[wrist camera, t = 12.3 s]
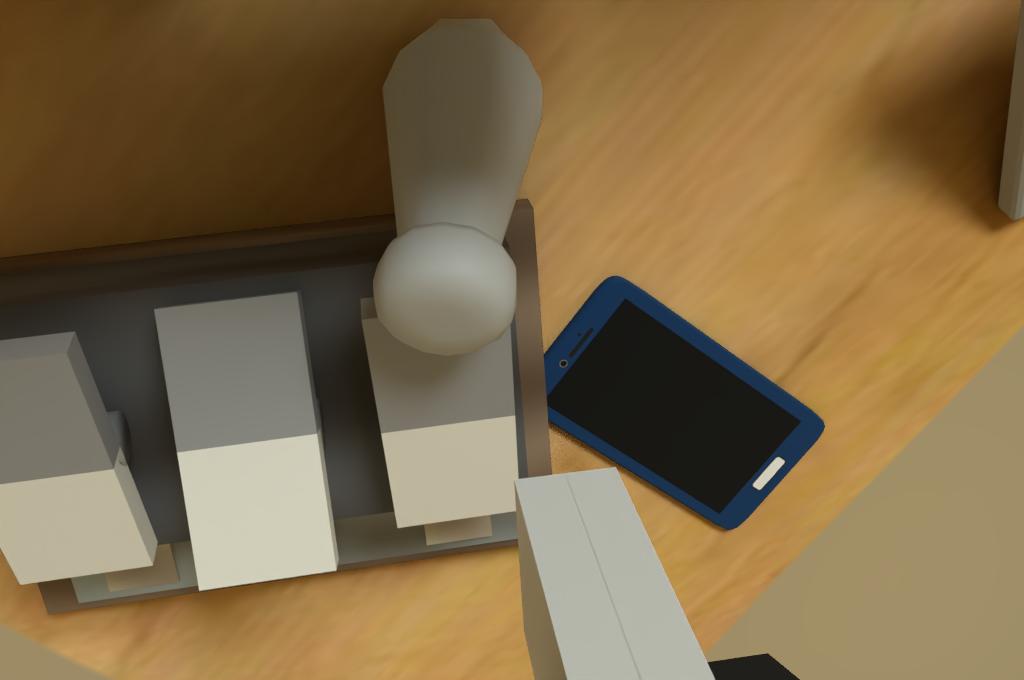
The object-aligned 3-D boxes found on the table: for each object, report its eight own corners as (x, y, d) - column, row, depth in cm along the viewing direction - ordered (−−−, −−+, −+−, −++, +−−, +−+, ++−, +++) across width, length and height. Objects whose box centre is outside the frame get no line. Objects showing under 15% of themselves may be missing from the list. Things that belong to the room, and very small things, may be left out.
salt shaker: (417, 135, 38) (379, 393, 30) (369, 11, 34) (309, 272, 26) (558, 110, 37) (559, 371, 29) (526, -21, 33) (516, 241, 25)
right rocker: (359, 275, 32) (361, 319, 30) (497, 259, 33) (508, 301, 31) (393, 479, 38) (397, 528, 36) (510, 463, 39) (520, 510, 37)
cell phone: (728, 528, 48) (734, 536, 47) (510, 392, 43) (512, 399, 42) (826, 418, 46) (833, 425, 45) (610, 265, 41) (614, 270, 41)
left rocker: (-66, 325, 31) (-95, 373, 29) (84, 307, 32) (66, 353, 30) (37, 532, 37) (20, 584, 35) (162, 515, 38) (153, 565, 35)
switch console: (-52, 264, 37) (-116, 313, 32) (527, 198, 39) (549, 235, 34) (58, 593, 43) (19, 675, 39) (550, 521, 46) (572, 590, 41)
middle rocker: (172, 303, 35) (153, 309, 32) (304, 288, 35) (296, 292, 32) (214, 565, 36) (199, 590, 33) (341, 547, 36) (336, 570, 34)
